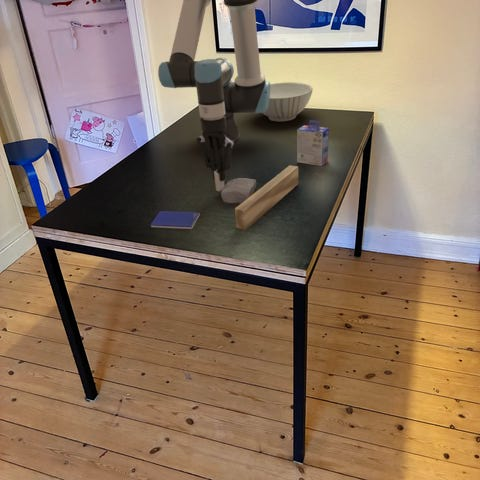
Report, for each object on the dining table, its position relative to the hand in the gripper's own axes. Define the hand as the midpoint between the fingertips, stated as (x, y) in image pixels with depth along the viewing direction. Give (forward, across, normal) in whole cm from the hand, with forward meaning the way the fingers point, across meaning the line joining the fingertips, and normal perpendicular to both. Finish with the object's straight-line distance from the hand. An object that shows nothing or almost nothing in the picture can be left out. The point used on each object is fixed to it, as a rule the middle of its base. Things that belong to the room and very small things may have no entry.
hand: (220, 189), depth 152 cm
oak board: (+2, +18, 0) cm, 18 cm away
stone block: (+2, +6, +2) cm, 6 cm away
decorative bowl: (+2, -19, +74) cm, 76 cm away
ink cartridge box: (+2, +16, +34) cm, 38 cm away
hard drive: (+2, -2, -20) cm, 21 cm away
